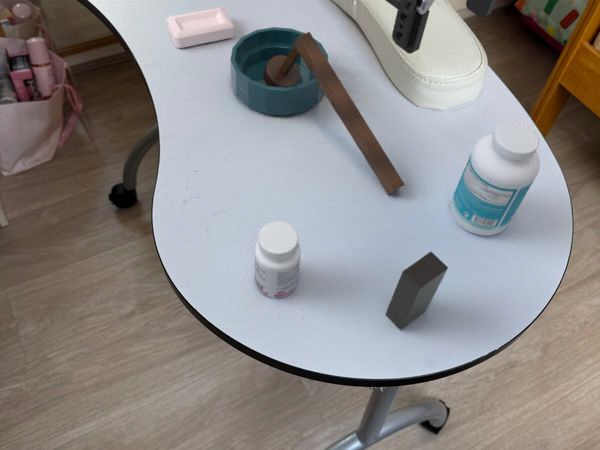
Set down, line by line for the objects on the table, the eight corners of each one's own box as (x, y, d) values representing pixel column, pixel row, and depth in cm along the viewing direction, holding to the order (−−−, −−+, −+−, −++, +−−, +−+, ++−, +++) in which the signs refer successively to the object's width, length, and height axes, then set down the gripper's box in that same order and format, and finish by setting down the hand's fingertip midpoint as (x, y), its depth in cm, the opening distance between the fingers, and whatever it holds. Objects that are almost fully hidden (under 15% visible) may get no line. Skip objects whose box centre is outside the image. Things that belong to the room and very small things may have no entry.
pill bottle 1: (300, 266, 66) (306, 222, 60) (293, 302, 64) (298, 261, 57) (259, 258, 67) (260, 214, 60) (250, 294, 64) (250, 252, 57)
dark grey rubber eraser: (384, 314, 63) (402, 271, 56) (410, 295, 65) (431, 250, 58) (400, 330, 62) (419, 288, 55) (426, 310, 64) (448, 267, 57)
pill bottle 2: (489, 185, 75) (530, 106, 65) (519, 230, 71) (567, 155, 61) (437, 197, 74) (470, 118, 63) (465, 244, 70) (504, 169, 59)
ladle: (256, 69, 82) (280, 27, 72) (284, 57, 83) (310, 14, 74) (349, 218, 81) (386, 196, 71) (374, 202, 83) (413, 179, 73)
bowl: (338, 74, 86) (342, 46, 82) (300, 130, 79) (303, 102, 75) (258, 45, 89) (259, 17, 85) (215, 97, 82) (213, 69, 78)
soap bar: (235, 38, 89) (234, 25, 88) (177, 50, 87) (175, 36, 85) (223, 18, 92) (223, 4, 90) (167, 29, 90) (165, 15, 88)
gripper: (484, -159, 30) (413, 88, 43) (637, -207, 36) (533, 23, 49) (383, -210, 33) (346, 34, 46) (539, -246, 39) (466, -20, 52)
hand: (442, 28), depth 47 cm, fingers open, 8 cm apart
